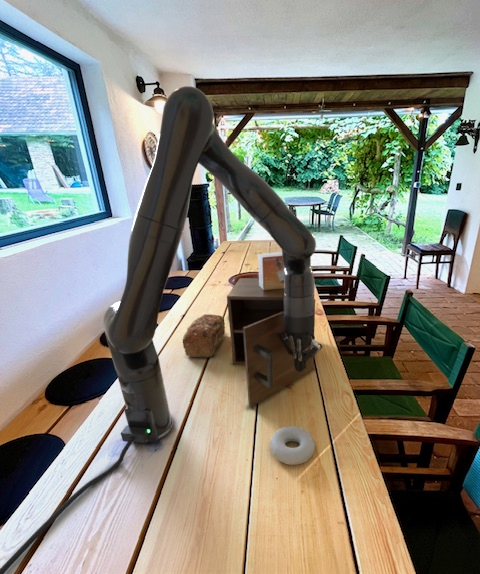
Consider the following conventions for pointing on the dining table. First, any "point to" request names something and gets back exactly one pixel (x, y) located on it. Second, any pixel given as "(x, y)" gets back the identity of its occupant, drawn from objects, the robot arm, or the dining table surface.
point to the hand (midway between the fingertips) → (300, 370)
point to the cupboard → (250, 310)
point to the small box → (271, 271)
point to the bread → (204, 336)
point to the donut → (292, 454)
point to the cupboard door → (268, 359)
